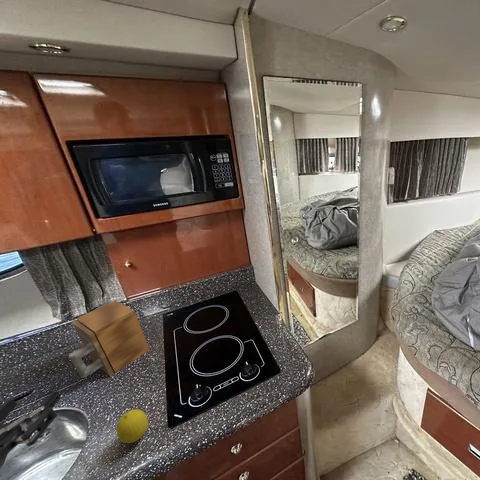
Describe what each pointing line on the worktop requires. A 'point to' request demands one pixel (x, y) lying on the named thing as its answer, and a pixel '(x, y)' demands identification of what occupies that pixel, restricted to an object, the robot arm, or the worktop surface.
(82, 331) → the cupboard door
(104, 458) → the worktop surface
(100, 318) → the cupboard
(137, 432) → the lemon
